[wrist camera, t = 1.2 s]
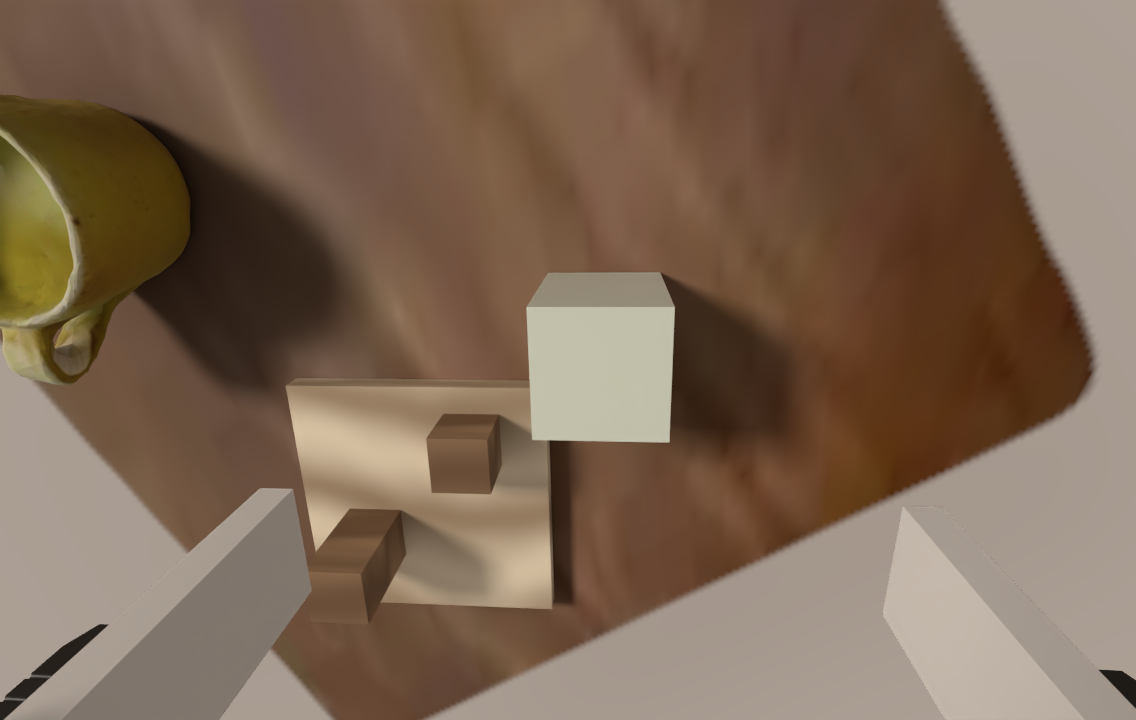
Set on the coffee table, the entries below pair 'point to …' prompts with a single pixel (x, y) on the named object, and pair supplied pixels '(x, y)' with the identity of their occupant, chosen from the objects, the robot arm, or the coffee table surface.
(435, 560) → the board
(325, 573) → the tall post
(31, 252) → the mug
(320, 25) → the coffee table surface
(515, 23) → the coffee table surface
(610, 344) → the pale green block
